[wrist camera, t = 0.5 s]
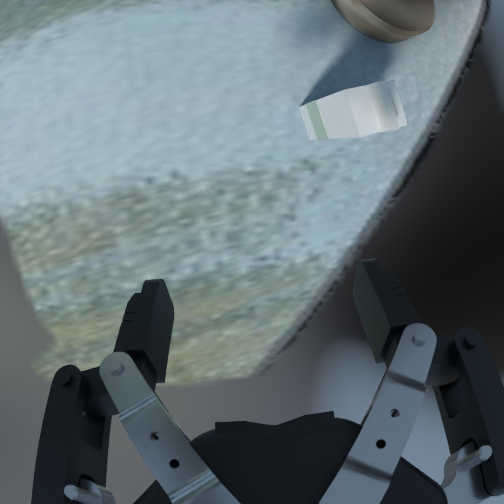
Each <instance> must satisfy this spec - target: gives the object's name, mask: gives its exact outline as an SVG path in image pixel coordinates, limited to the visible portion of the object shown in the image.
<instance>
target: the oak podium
mask: <svg viewBox="0 0 504 504" xmlns="http://www.w3.org/2000/svg"><path fill="white" fill-rule="evenodd" d="M331 1H332V3H333V5H334V6H335V8H336V9H337V11H338V12H339V13H340V14H341V16H342V17H343V18H344V19H345V20H346V21H347V22H348V23H349V24H350V25H352V26H353V27H354V28H355V29H357V30H358V31H359V32H361V33H363V34H364V35H366V36H368V37H370V38H373V39H375V40H378V41H382V42H388V43H396V42H401V41H404V40H406V39H408V38H411V37H413V36H416V35H418V34H421V33H424V32H425V31H427V30H428V29H429V28H430V27H431V26H432V24H433V22H434V19H435V5H434V1H433V0H331Z"/></svg>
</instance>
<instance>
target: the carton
mask: <svg viewBox="0 0 504 504" xmlns="http://www.w3.org/2000/svg"><path fill="white" fill-rule="evenodd" d="M299 109H300V112H301V115H302V117H303V120H304V123H305V126H306V129H307V132H308V135H309V138H310V140H328V139H336V138H361V137H364V136H368V135H371V134H375V133H379V132H388V131H395V130H399V129H400V128H399V127H401V126H405V125H407V122H406V118H405V114H404V111H403V107H402V104H401V101H400V97H399V94H398V91H397V88H396V85H395V82H394V80H393V81H387V82H385V81H379V82H375V83H372V84H368V85H364V86H359V87H354V88H349V89H345V90H342V91H339V92H337V93H334V94H331V95H329V96H326V97H323V98H321V99H317V100H314V101H312V102H309V103H307V104H306V105H303V106H301V107H299Z"/></svg>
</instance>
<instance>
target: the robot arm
mask: <svg viewBox="0 0 504 504" xmlns="http://www.w3.org/2000/svg"><path fill="white" fill-rule="evenodd" d="M353 296H354V301H355V304H356V307H357V309H358V312H359V315H360V318H361V320H362V323H363V326H364V329H365V332H366V335H367V338H368V340H369V343H370V346H371V349H372V352H373V355H374V358H375V361H376V363H381V362H385V364H386V367H387V368H386V370H385V373H384V375H383V377H382V380H381V382H380V384H379V386H378V389H377V391H376V393H375V395H374V397H373V400H372V401H371V404H370V406H369V408H368V409H367V411H366V413H365V415H364V417H363V419H362V421H361V423H360V424H357V423H355V422H353V421H350V420H347V419H342V418H335V417H334V412H333V411H330V412H323V413H316V414H310V415H304V416H301V417H299V418H296V419H293V420H290V421H287V422H285V423H282V424H279V425H266V424H260V423H253V422H247V421H234V422H215V429H213V430H210V431H207V432H205V433H203V434H201V435H199V436H198V437H196V438H195V439H193V440H192V441H191V440H190V439H189V438H188V436H187V435H186V434H185V433H184V431H183V430H182V429H181V427H180V426H179V425H178V424H177V422H176V421H175V420H174V418H173V417H172V415H171V414H170V413H169V411H168V410H167V408H166V407H165V406H164V404H163V403H162V401H161V400H160V398H159V397H158V395H157V394H156V393H155V386H156V383H165V376H166V369H167V361H168V354H169V347H170V341H171V334H172V328H173V322H174V307H173V303H172V300H171V298H170V295H169V292H168V290H167V287H166V284H165V281H164V280H163V279H153V280H145V281H144V284H143V287H142V291H141V293H135V294H134V295H133V296H132V298H131V299H130V300H129V301H128V303H127V306H126V310H125V314H124V316H123V320H122V321H123V322H122V323H121V326H120V330H119V333H118V337H117V341H116V344H115V348H114V351H113V353H111V354H109V355H108V356H106V357H105V358H104V360H103V361H102V362H101V365H100V366H99V367H96V368H92V369H88V370H85V371H80V370H79V368H77V367H76V366H74V365H66V366H63V367H62V368H60V369H59V370H58V371H57V372H56V374H55V375H54V378H53V381H52V385H51V389H50V393H49V397H48V401H47V406H46V410H45V414H44V419H43V424H42V429H41V434H40V439H39V445H38V451H37V457H36V465H35V472H34V481H33V490H32V501H31V504H116V501H115V498H114V496H113V494H112V493H111V492H110V491H109V490H108V489H107V488H106V473H107V458H108V447H109V436H110V427H111V419H112V415H116V414H120V417H119V419H120V421H121V423H122V425H123V427H124V429H125V430H126V432H127V433H128V435H129V437H130V439H131V440H132V442H133V444H134V445H135V447H136V449H137V450H138V452H139V453H140V455H141V457H142V458H143V460H144V461H145V463H146V464H147V466H148V468H149V469H150V470H151V472H152V473H153V475H154V476H155V478H156V480H155V481H154V483H152V484H151V486H150V487H149V488H148V489H147V490H146V491H145V492H144V493H143V494H142V495H141V496H140V497H139V498H138V499H137V500H136V501H135V502H134V503H133V504H477V503H480V502H483V501H486V500H489V499H491V498H495V497H497V496H499V495H502V494H504V386H503V384H502V381H501V378H500V376H499V374H498V371H497V369H496V366H495V364H494V362H493V360H492V357H491V355H490V353H489V350H488V348H487V346H486V344H485V342H484V340H483V338H482V336H481V335H480V334H479V333H478V332H477V331H476V330H474V329H471V328H463V329H460V330H459V331H458V332H457V333H456V335H455V336H444V335H436V334H435V333H434V332H433V330H432V329H431V328H429V327H428V326H426V325H424V324H421V323H420V321H419V319H418V317H417V315H416V313H415V311H414V309H413V307H412V305H411V303H410V301H409V299H408V297H407V296H406V293H405V291H404V289H403V288H402V285H401V284H400V281H399V280H398V278H397V277H396V276H395V275H394V274H393V273H392V272H391V271H390V270H382V268H381V266H380V264H379V262H378V261H377V259H368V260H359V261H358V263H357V268H356V274H355V280H354V286H353ZM424 385H432V387H433V390H434V393H435V396H436V400H437V403H438V407H439V410H440V414H441V418H442V421H443V425H444V429H445V433H446V437H447V441H448V445H449V450H450V454H451V455H450V456H449V457H448V459H447V460H446V462H445V465H444V478H443V482H442V484H441V485H439V484H438V483H437V482H435V481H434V480H433V479H431V478H430V477H428V476H427V475H426V474H424V473H423V472H422V471H420V470H419V469H418V468H416V467H414V465H412V464H411V463H409V462H408V461H407V460H405V459H404V458H403V457H401V455H402V452H403V450H404V448H405V446H406V443H407V441H408V438H409V436H410V434H411V431H412V428H413V426H414V423H415V421H416V418H417V415H418V413H419V410H420V407H421V404H422V401H423V399H424V396H425V392H426V387H424Z"/></svg>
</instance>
